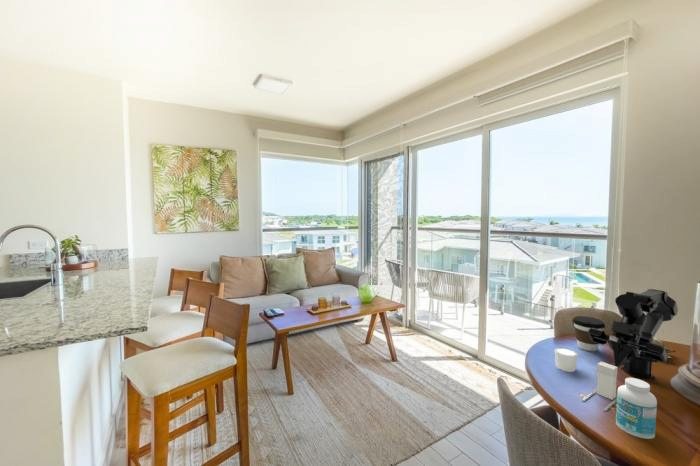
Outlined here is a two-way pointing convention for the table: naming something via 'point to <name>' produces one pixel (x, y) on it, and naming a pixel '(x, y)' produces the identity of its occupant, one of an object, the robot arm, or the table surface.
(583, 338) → the coffee cup
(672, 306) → the robot arm
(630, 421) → the pill bottle
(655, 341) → the ceramic sculpture
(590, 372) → the table surface
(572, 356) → the white cylinder
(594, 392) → the console
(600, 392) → the fader tab
